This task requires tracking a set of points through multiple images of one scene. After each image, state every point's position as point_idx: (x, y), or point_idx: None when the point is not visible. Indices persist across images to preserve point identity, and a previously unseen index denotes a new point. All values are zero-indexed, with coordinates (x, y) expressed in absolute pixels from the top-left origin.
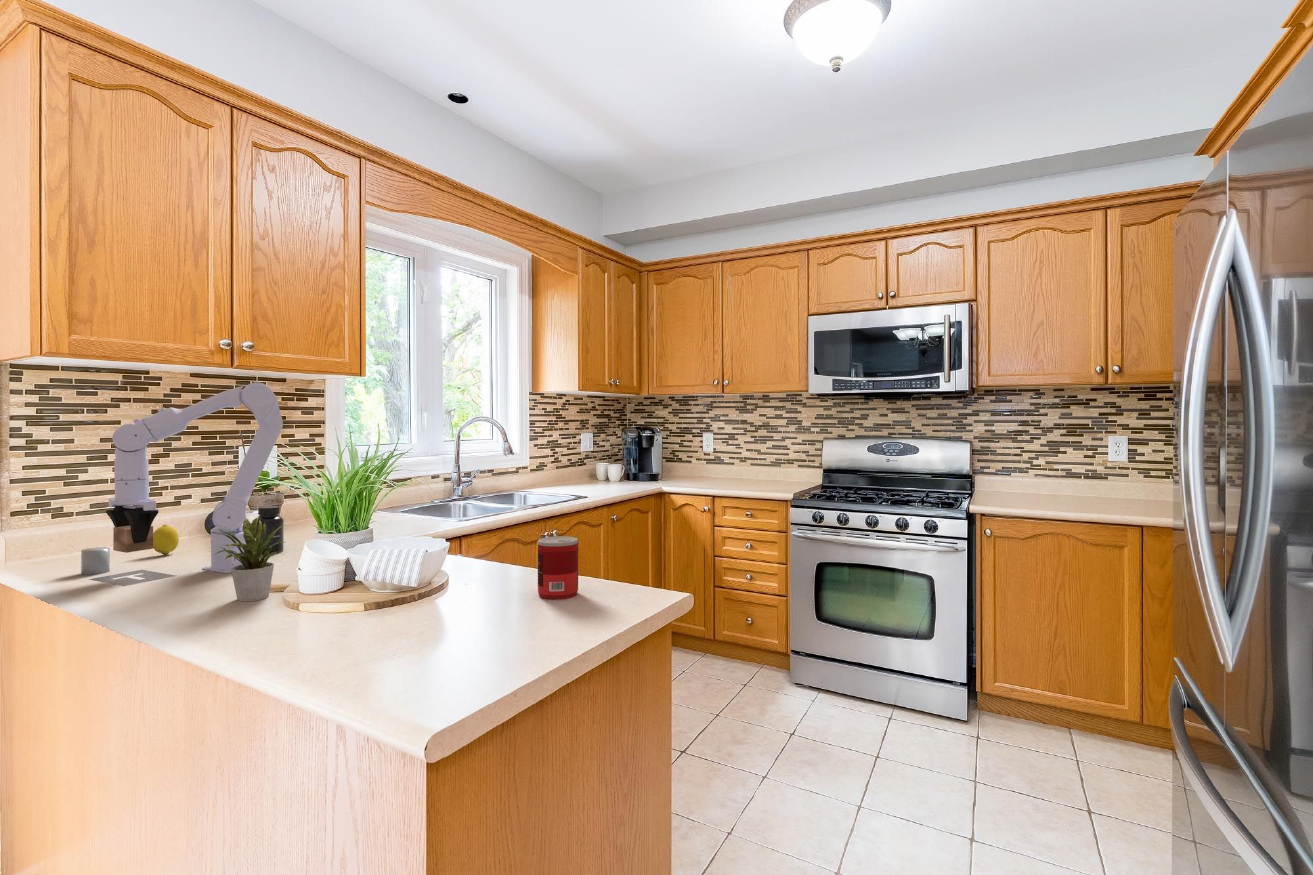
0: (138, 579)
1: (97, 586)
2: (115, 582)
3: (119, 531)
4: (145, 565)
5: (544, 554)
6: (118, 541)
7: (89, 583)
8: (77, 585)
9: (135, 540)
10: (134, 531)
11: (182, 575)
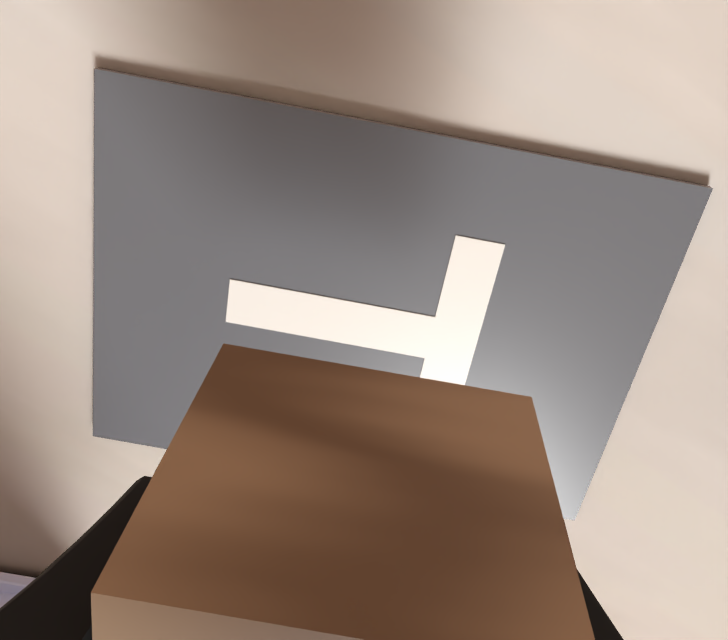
0: (242, 281)
1: (372, 26)
2: (323, 155)
3: (369, 582)
4: (707, 624)
5: None
6: (408, 457)
7: (574, 97)
8: (613, 3)
9: (121, 502)
10: (19, 600)
11: (107, 465)
